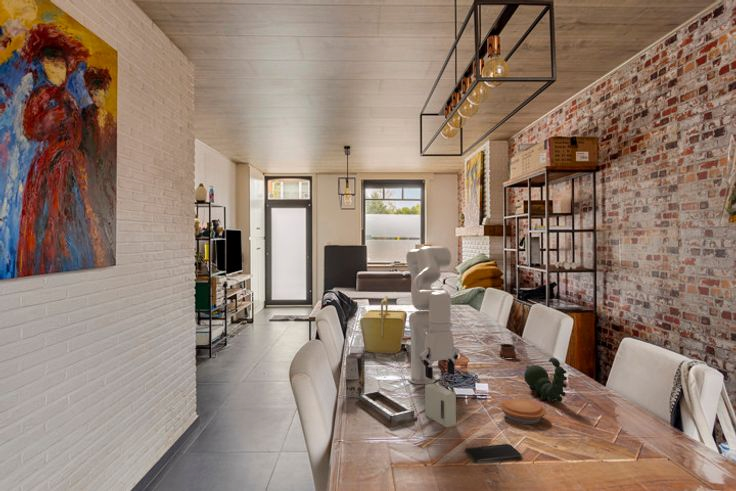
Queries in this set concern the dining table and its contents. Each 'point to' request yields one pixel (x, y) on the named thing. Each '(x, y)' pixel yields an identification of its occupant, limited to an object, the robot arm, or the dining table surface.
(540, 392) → the toy figurine
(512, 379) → the dining table surface
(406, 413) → the grey rectangular tray
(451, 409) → the pale green block
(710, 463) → the dining table surface
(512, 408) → the pie
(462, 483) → the dining table surface
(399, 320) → the picnic basket
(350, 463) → the dining table surface
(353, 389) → the coffee box
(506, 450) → the phone
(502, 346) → the ceramic pot
